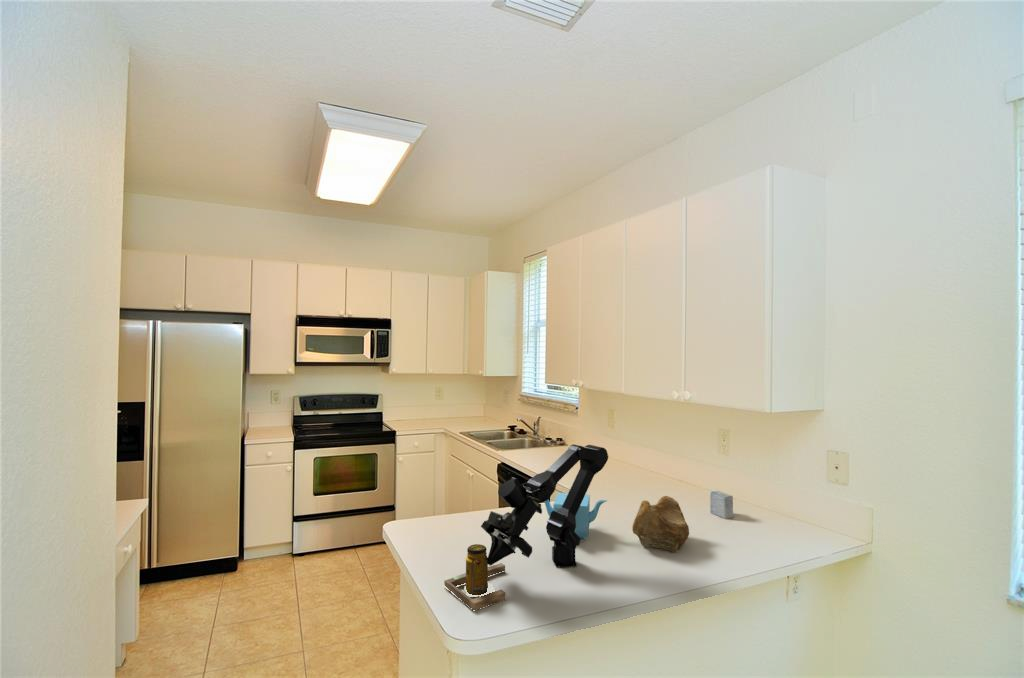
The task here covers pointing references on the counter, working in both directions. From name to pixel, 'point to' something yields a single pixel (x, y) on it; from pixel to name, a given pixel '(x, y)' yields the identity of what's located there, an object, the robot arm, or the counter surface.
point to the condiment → (476, 570)
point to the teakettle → (578, 513)
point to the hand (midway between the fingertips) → (488, 564)
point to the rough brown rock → (661, 525)
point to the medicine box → (721, 504)
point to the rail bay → (479, 601)
